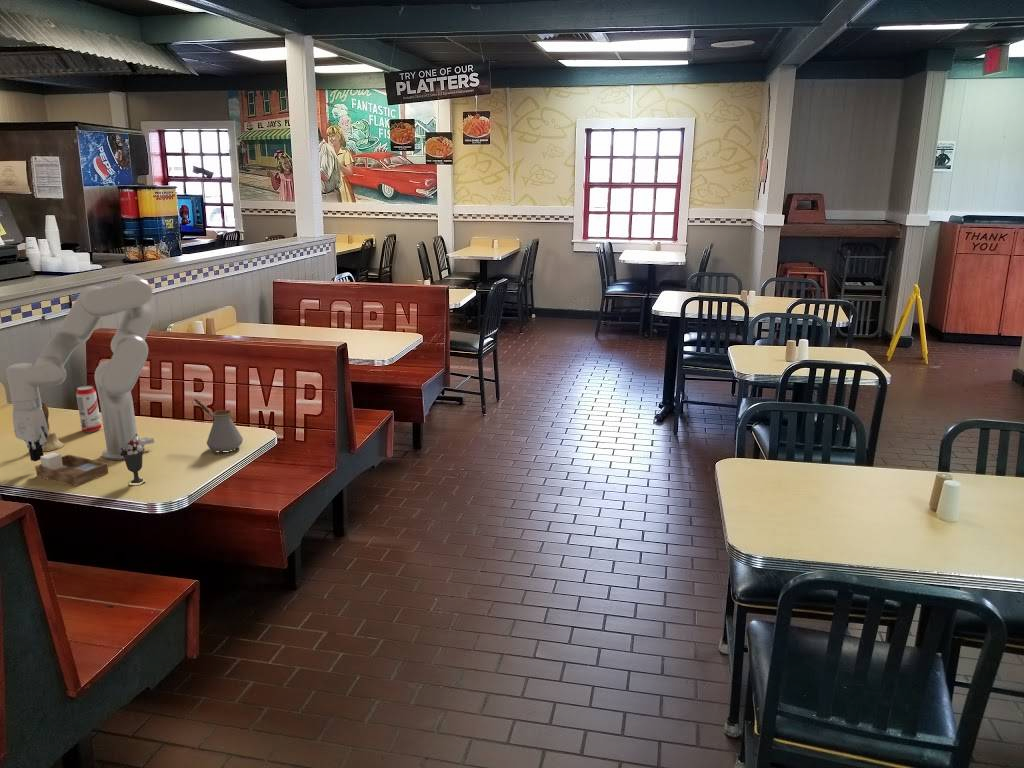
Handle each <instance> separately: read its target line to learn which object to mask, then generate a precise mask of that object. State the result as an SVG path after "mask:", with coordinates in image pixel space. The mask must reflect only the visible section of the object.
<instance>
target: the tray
mask: <svg viewBox="0 0 1024 768" xmlns="http://www.w3.org/2000/svg"><path fill="white" fill-rule="evenodd" d="M61 457H62V463H63V467H60V468H58V469H55V470H53V469H49V468H46V467H42V464H41V463H40V464H37V465H35V471H36V473H35V474H36V476H37V477H40V476H41V477H40V478H43V477H45V478H44V479H47V478H48V480H51V481H54V480H55V482H58V481H59V483H62V484H66V485H69V484H70V485H69V486H74V487H78V486H80V485H82V483H83V484H85V483H88V482H90V481H93V480H94V479H98V478H100V477H102V476H105V475H108V474H109V469H108V463H107V462H106V463H105V462H102V461H98V460H94V459H89V458H85V457H81V456H77V455H74V454H66V455H63V456H62V455H61ZM87 463H90V464H94V465H98V466H97V467H95V468H92V469H89V470H87V471H83V470H79V469H75V468H77V467H79V466H82V465H84V464H87ZM107 473H108V474H107ZM104 474H105V475H104ZM97 477H98V478H97Z"/></svg>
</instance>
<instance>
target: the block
mask: <svg viewBox="0 0 1024 768" xmlns="http://www.w3.org/2000/svg"><path fill="white" fill-rule="evenodd" d="M43 455H44V456H41V457H40V459H41V460H40V464H42V467H46V468H49V469H53V470H55V469H58V468H60V467H63V463H62V454H60V453H58V452H57V453H56V452H52V451H51V452H50V453H47V454H43Z"/></svg>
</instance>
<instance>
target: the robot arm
mask: <svg viewBox="0 0 1024 768" xmlns="http://www.w3.org/2000/svg"><path fill="white" fill-rule="evenodd" d="M155 306H156V305H155V301H154V297H153V287H152V286H151V284H150V283H149V282H148V281H147V280H145V279H144V278H143V277H141V276H138V275H136V274H132V273H131V274H126V275H124V276H122V277H121V278H120V279H119V280H118V283H117V284H113V285H110V286H106V287H101V286H98V285H90V286H87V287H85V288H84V289H83V290H81V292H80V293H79V295H78V297H77V298H76V300H75V301H74V303H73V304H72V306H71V307H70V310H69V311H68V313H67V315H66V316H65V318H64V320H63V321H62V322H61V324H60V326H59V327H58V328H57V330H55V333H54V334H53V335H52V336H51V337H50V339H49V340H48V342H47V343H46V345H45V346H44V347H43V350H42V351H41V353H40V355H39V356H38V358H37V359H36V362H35V364H33V363H30V362H29V363H28V362H19V363H14V364H10V365H9V366H8V367H7V368H6V378H7V383H8V387H9V393H10V398H11V403H12V424H13V430H14V436H15V438H17V439H18V440H22V441H24V442H25V444H26V447H27V449H28V451H29V457H30V461H32V462H37V461H41V459H40V457H41V456H44V455H45V454H44V452H43V449H42V447H43V444H46V443H47V441H46V438H48V427H47V423H46V419H45V415H44V412H43V410H42V408H41V407H42V402H43V401H42V397H41V392H40V388H41V387H56V386H60V385H61V384H63V383H64V382H65V381H66V378H67V371H66V368H65V365H66V363H67V361H68V360H69V358H70V357H71V355H72V354H73V352H74V351H75V350H76V349H77V348H78V347H79V346H81V345H83V344H84V343H86V342H87V341H88V340H89V339H90V338H91V336H92V334H93V332H94V331H95V329H96V327H97V326H98V324H99V322H100V321H101V319H102V318H103V317H107V316H111V315H112V316H113V315H115V314H118V313H122V312H123V313H124V314H123V316H122V318H121V321H120V323H119V324H118V325H119V326H118V327H117V330H116V331H115V333H114V336H113V337H112V339H111V342H110V350H111V352H112V353H113V354H112V356H111V357H110V359H109V360H104V361H102V362H101V363H100V364H98V366H97V367H96V369H95V371H94V383H95V386H96V390H97V391H96V393H97V394H98V396H97V397H98V400H99V406H100V415H101V421H102V426H103V433H104V439H105V445H106V449H105V450H103V451H102V453H101V455H102V458H104V459H105V460H107V461H108V460H109V461H122V459H123V460H125V459H124V457H123V456H121V455H120V452H121V451H122V450H121V448H122V449H123V450H124V449H125V446H126V444H127V443H129V442H130V440H133V441H134V442H135V441H136V440H137V441H138V442H139V445H140V446H141V447H142V448H143V449H144V450H145V445H151V444H154V443H155V440H154V437H148V436H145V437H143V438H141V437H139V436H138V435H137V436H135V434H138V428H137V424H136V416H135V408H134V401H133V395H132V390H133V388H134V387H135V385H136V384H137V381H138V379H139V377H140V375H141V373H142V371H143V369H144V366H145V364H146V362H147V359H148V355H149V346H148V343H147V342H146V338H147V336H148V333H149V332H150V329H151V327H152V323H153V320H154V317H155V313H156V312H155V310H156V309H155V308H156V307H155ZM39 387H40V388H39ZM134 437H135V438H134ZM133 438H134V439H133ZM145 451H146V450H145Z"/></svg>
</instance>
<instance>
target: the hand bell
mask: <svg viewBox="0 0 1024 768" xmlns="http://www.w3.org/2000/svg"><path fill="white" fill-rule="evenodd" d="M41 402H42V407H41V408H42V410H43V412H44V415H45V419H46V423H47V427H48V438H46V441H47V443H46V444H43V447H42V449H43V451H44V452H52V451H56V450H59V449H62V448H63V447H64V446H65V444H64V443H63V442H62V441H60V440H59V439H58V437H57V434H56V432H55V431H54V430H52V429H50V424H49V414H50V413H49V408H48V406H47V404H46V402H45V401H41Z"/></svg>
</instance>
